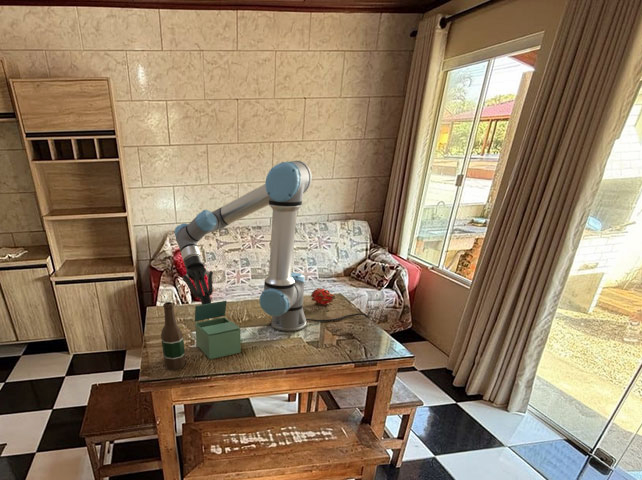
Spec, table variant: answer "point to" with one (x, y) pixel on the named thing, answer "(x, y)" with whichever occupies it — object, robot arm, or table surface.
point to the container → (218, 337)
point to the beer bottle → (172, 340)
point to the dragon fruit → (322, 296)
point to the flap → (210, 310)
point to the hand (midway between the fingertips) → (209, 311)
